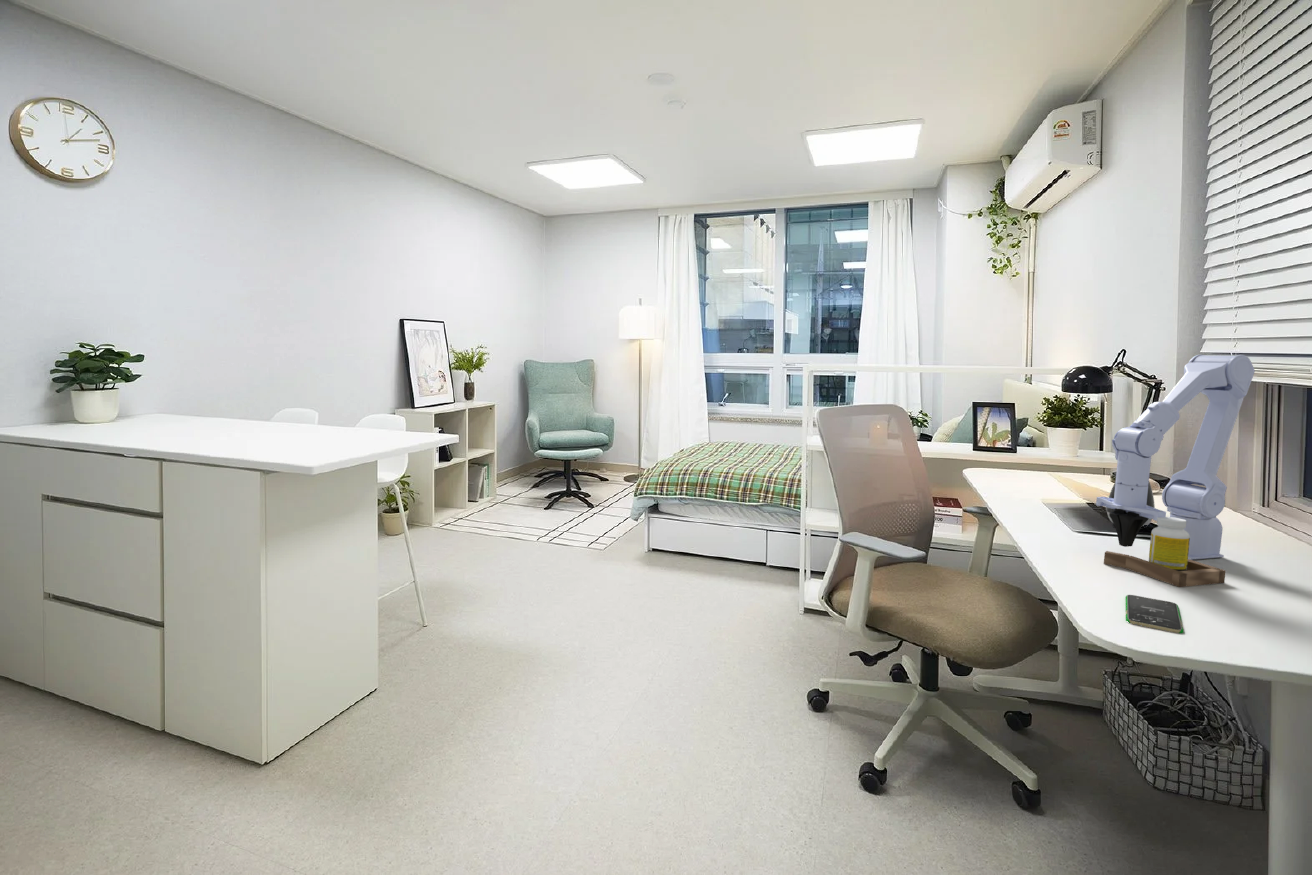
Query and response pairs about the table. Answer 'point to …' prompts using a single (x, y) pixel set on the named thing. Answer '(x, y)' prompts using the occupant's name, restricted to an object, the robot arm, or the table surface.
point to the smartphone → (1153, 613)
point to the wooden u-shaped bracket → (1168, 570)
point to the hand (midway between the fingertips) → (1125, 545)
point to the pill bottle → (1170, 543)
